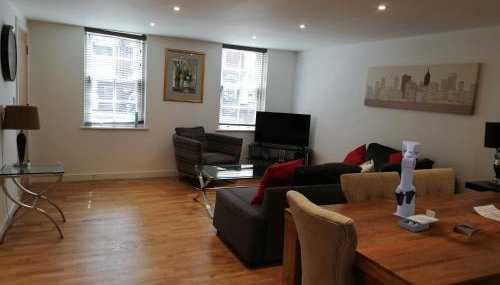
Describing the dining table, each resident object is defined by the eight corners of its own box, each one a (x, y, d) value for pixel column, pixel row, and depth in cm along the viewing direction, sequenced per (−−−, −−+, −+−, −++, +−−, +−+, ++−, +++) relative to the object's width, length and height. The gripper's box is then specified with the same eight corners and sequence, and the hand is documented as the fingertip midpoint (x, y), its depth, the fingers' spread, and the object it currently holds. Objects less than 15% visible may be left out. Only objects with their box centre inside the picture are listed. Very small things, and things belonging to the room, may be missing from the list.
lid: (422, 217, 199) (423, 208, 199) (439, 223, 191) (440, 213, 191) (405, 221, 191) (406, 211, 191) (422, 226, 183) (423, 217, 183)
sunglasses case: (471, 236, 178) (465, 223, 180) (457, 239, 183) (451, 227, 185) (481, 229, 191) (475, 217, 192) (467, 232, 195) (462, 220, 197)
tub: (412, 223, 195) (413, 217, 194) (428, 228, 187) (429, 223, 187) (397, 226, 188) (398, 220, 187) (413, 232, 180) (413, 226, 180)
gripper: (407, 177, 199) (405, 201, 201) (391, 179, 191) (389, 204, 192) (419, 180, 193) (417, 204, 195) (403, 182, 185) (401, 207, 187)
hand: (403, 204), depth 193 cm, fingers open, 7 cm apart
